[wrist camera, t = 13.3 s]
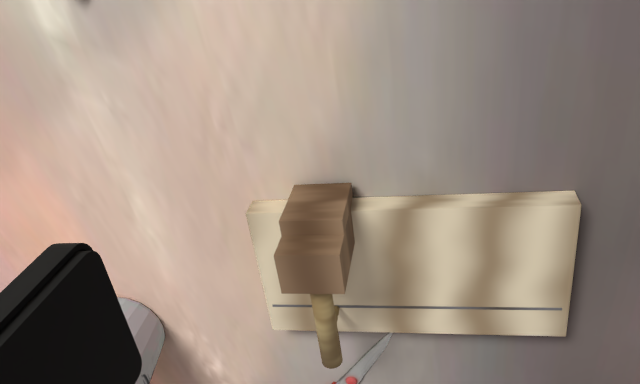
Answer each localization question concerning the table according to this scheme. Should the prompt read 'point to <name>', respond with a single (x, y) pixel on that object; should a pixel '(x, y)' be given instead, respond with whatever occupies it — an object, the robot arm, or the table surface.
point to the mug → (144, 335)
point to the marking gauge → (318, 255)
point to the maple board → (441, 264)
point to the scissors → (364, 363)
